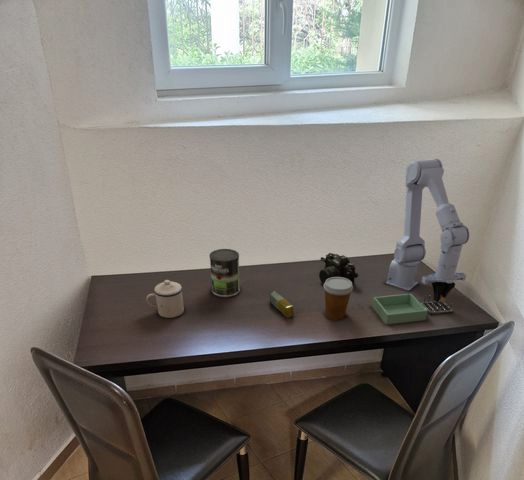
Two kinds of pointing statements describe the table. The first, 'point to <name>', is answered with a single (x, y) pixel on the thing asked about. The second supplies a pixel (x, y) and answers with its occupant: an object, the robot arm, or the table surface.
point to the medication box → (281, 304)
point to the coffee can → (225, 272)
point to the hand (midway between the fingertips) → (438, 300)
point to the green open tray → (399, 308)
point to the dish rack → (442, 301)
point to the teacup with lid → (168, 299)
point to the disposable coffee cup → (337, 296)
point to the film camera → (337, 268)
